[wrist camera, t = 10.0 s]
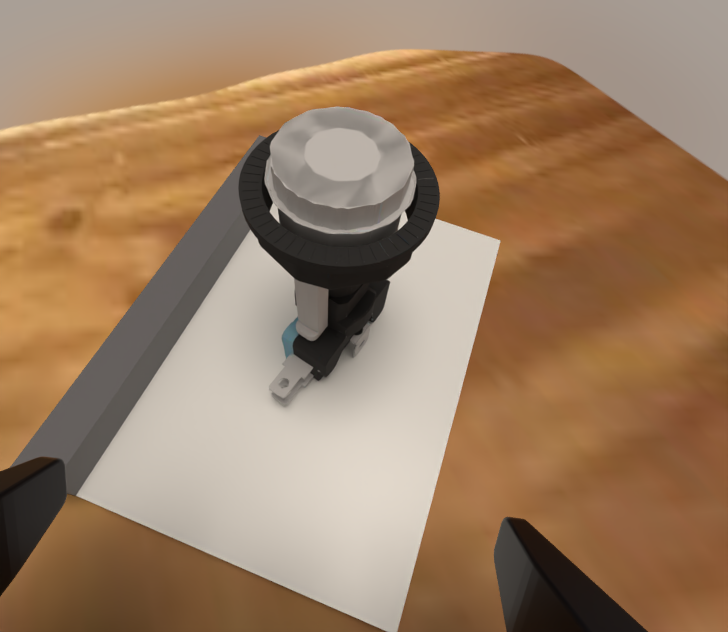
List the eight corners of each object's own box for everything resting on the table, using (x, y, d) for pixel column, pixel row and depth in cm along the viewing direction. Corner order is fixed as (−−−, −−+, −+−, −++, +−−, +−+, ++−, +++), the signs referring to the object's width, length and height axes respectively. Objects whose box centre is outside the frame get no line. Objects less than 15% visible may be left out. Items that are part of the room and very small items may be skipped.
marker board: (392, 631, 15) (404, 645, 13) (45, 479, 16) (1, 469, 14) (495, 249, 23) (513, 219, 21) (261, 170, 25) (255, 134, 22)
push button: (330, 441, 17) (339, 327, 8) (227, 368, 18) (137, 200, 9) (413, 320, 20) (484, 142, 11) (320, 264, 21) (318, 61, 12)
